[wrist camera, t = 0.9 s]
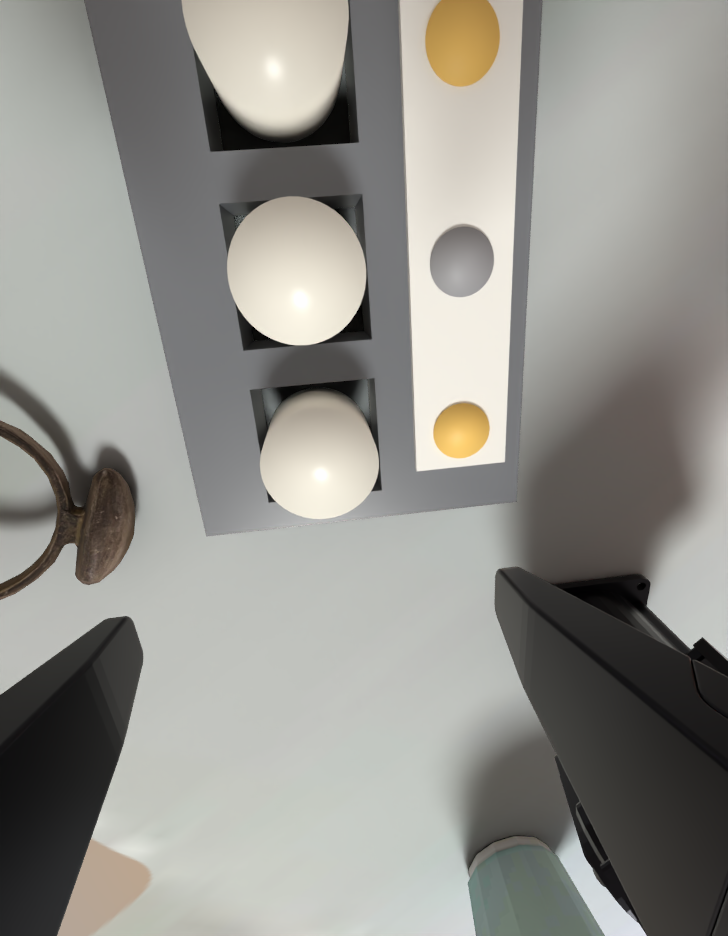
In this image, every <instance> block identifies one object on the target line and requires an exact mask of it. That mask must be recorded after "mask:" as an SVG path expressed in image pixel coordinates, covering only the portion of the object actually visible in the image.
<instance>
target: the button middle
mask: <svg viewBox="0 0 728 936" xmlns="http://www.w3.org/2000/svg"><path fill="white" fill-rule="evenodd" d="M227 274H228V282H229V286H230V290H231V293H232V296H233V299H234V301H235V303H236V305H237V307H238V308H239V310H240V311H241V313H242V314H243V316H244V317H245V318H246V319H247V321H248V322H249V323H250V324H251V325H252V326H253V327H254V328H255V329H257V330H258V331H259V332H261V333H262V334H264V335H265V336H267V337H269V338H271V339H273V340H276V341H278V342H281V343H285V344H289V345H311V344H316V343H319V342H322V341H325V340H327V339H329V338H331V337H333V336H334V335H336V334H337V333H339V332H340V331H341V330H342V329H344V328H345V327H346V326H347V324H348V323H349V322H350V321H351V320H352V318H353V317H354V315H355V314H356V312H357V310H358V308H359V306H360V304H361V301H362V299H363V295H364V291H365V285H366V264H365V258H364V254H363V250H362V248H361V245H360V242H359V240H358V238H357V236H356V235H355V233H354V231H353V230H352V228H351V227H350V225H349V224H348V223H347V222H346V221H345V220H344V218H343V217H342V216H340V215H339V214H338V213H337V212H336V211H335V210H333V209H332V208H330V207H329V206H327V205H325V204H323V203H321V202H319V201H316V200H313V199H310V198H305V197H299V196H287V197H280V198H276V199H273V200H270V201H268V202H266V203H264V204H261V205H260V206H259V207H257V208H256V209H254V210H253V211H252V212H251V213H250V214H248V215H247V216H246V217H245V219H244V220H243V221H242V222H241V224H240V225H239V227H238V228H237V230H236V232H235V234H234V236H233V239H232V241H231V244H230V248H229V252H228V259H227Z"/></svg>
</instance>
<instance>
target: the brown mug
mask: <svg viewBox="0 0 728 936" xmlns="http://www.w3.org/2000/svg"><path fill="white" fill-rule="evenodd" d="M0 436H1V437H3V438H5V439H7V440H8V441H10V442H12V443H14V444H15V445H17V446H19V447H20V448H21V449H22V450H24V451H25V452H26V453H27V454H29V455H30V456H31V457H33V458H34V459H35V461H36V462H37V463H38V465H39V466H40V467H41V469H42V470H43V471H44V473H45V474H46V475H47V477H48V478H49V481H50V483H51V486H52V488H53V491H54V493H55V496H56V502H57V508H58V513H57V520H56V527H55V531H54V533H53V536H52V539H51V541H50V543H49V545H48V546H47V548H46V549H45V551H44V553H43V554H42V555H41V556H40V557H39V559H38V560H37V561H36V562H35V563H34V564H33V565H32V566H30V567H29V568H28V569H26V570H25V571H24V572H22V573H21V574H19V575H17V576H15V577H14V578H12V579H10V580H8V581H6V582H4V583H1V584H0V600H1V599H4V598H6V597H8V596H11V595H13V594H16V593H17V592H19V591H20V590H22V589H23V588H25V587H26V586H28V585H29V584H31V583H32V582H34V581H35V580H36V579H38V578H39V577H40V576H41V575H42V574H43V573H44V572H45V571H46V570H47V569H48V568H49V567H50V566H51V565H52V564H53V563H54V562H55V560H56V559H57V557H58V555H59V553H60V552H61V550H62V548H63V546H64V545H66V544H68V543H75V545H76V546H77V560H76V572H75V575H76V577H77V579H78V580H79V581H81V582H82V583H83V584H87V585H90V584H94V583H98V582H100V581H101V580H102V579H104V578H105V577H106V576H107V575H109V574H110V573H111V572H112V571H113V570H114V569H115V568H116V567H117V566H118V564H119V563H120V562H121V560H122V559H123V557H124V555H125V554H126V552H127V550H128V548H129V546H130V543H131V541H132V539H133V535H134V526H135V505H134V502H133V498H132V495H131V492H130V489H129V485H128V484H127V482H126V481H125V480H124V478H123V477H122V476H121V474H120V473H118V472H117V471H115V470H114V469H111V468H103V469H102V470H100V471H99V472H97V473H96V474H95V475H94V476H93V480H92V483H91V487H90V490H89V494H88V497H87V500H86V503H85V506H84V507H77V506H75V505H74V503H73V501H72V498H71V494H70V488H69V482H68V480H67V478H66V476H65V474H64V472H63V470H62V469H61V467H60V466H59V465H58V463H57V462H56V461H55V459H54V458H53V456H52V455H51V454H50V453H49V452H48V451H47V450H46V449H44V448H43V447H42V446H41V445H40V444H38V443H37V442H36V441H35V440H34V439H33V438H32V437H30V436H29V435H28V434H26V433H25V432H23V431H22V430H20V429H18V428H16V427H14V426H11V425H9V424H7V423H4V422H2V421H0Z"/></svg>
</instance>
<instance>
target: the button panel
mask: <svg viewBox="0 0 728 936" xmlns="http://www.w3.org/2000/svg"><path fill="white" fill-rule="evenodd" d="M84 1H85V6H86V10H87V14H88V19H89V23H90V28H91V32H92V36H93V41H94V45H95V50H96V54H97V58H98V63H99V67H100V71H101V76H102V80H103V85H104V89H105V93H106V98H107V102H108V107H109V111H110V115H111V120H112V124H113V129H114V133H115V137H116V142H117V146H118V151H119V155H120V159H121V164H122V168H123V173H124V177H125V181H126V186H127V190H128V194H129V199H130V203H131V208H132V212H133V216H134V221H135V225H136V230H137V234H138V238H139V243H140V247H141V252H142V256H143V260H144V265H145V269H146V274H147V278H148V282H149V287H150V291H151V295H152V300H153V304H154V309H155V313H156V317H157V322H158V326H159V331H160V335H161V339H162V344H163V348H164V353H165V357H166V361H167V366H168V370H169V375H170V379H171V383H172V388H173V392H174V397H175V401H176V405H177V410H178V414H179V418H180V423H181V427H182V432H183V436H184V440H185V445H186V449H187V454H188V458H189V462H190V467H191V471H192V476H193V480H194V484H195V489H196V493H197V498H198V502H199V506H200V511H201V515H202V520H203V524H204V528H205V533H206V536H215V535H224V534H232V533H241V532H250V531H259V530H268V529H277V528H286V527H295V526H304V525H313V524H322V523H330V522H339V521H348V520H357V519H366V518H375V517H384V516H393V515H402V514H411V513H420V512H429V511H437V510H446V509H455V508H464V507H473V506H482V505H491V504H500V503H509V502H517V483H518V463H519V444H520V424H521V405H522V386H523V366H524V347H525V327H526V308H527V289H528V269H529V250H530V230H531V211H532V191H533V172H534V153H535V133H536V114H537V94H538V75H539V55H540V36H541V17H542V0H523V19H522V45H521V70H520V95H519V120H518V145H517V170H516V195H515V220H514V245H513V270H512V295H511V320H510V346H509V371H508V396H507V421H506V446H505V462H501V463H491V464H482V465H473V466H463V467H454V468H444V469H435V470H426V471H416V469H415V451H414V424H413V396H412V369H411V341H410V314H409V286H408V259H407V231H406V204H405V177H404V149H403V122H402V94H401V67H400V39H399V12H398V0H348V7H349V21H348V32H347V40H346V47H345V55H344V60H345V74H346V88H347V102H348V116H349V130H350V143H347V144H330V145H314V146H298V147H282V148H266V149H250V150H234V151H223V144H222V138H221V132H220V125H219V119H218V113H217V106H216V100H215V93H214V87H213V84H212V82H211V80H210V78H209V76H208V74H207V72H206V71H205V69H204V67H203V65H202V63H201V61H200V59H199V57H198V55H197V53H196V51H195V49H194V47H193V44H192V42H191V40H190V37H189V34H188V31H187V28H186V24H185V20H184V15H183V9H182V0H84ZM287 196H299V197H305V198H310V199H313V200H316V201H319V202H321V203H323V204H325V205H327V206H329V207H330V208H332V209H337V208H351V207H355V214H356V228H357V238H358V240H359V242H360V245H361V248H362V250H363V254H364V258H365V264H366V285H365V291H364V295H363V299H362V311H363V325H364V331H361V332H350V333H338V334H336V335H334V336H333V337H331V338H329V339H327V340H325V341H322V342H319V343H316V344H311V345H289V344H285V343H281V342H278V341H276V340H273V339H270V340H258V341H253V335H252V329H251V324H250V323H249V322H248V321H247V319H246V318H245V317H244V316H243V314H242V313H241V311H240V310H239V308H238V307H237V305H236V303H235V301H234V299H233V296H232V293H231V290H230V286H229V282H228V274H227V259H228V252H229V248H230V244H231V241H232V239H233V236H234V234H235V232H236V227H235V221H234V216H237V215H248V214H250V213H251V212H252V211H253V210H254V209H256V208H257V207H259V206H260V205H261V204H264V203H266V202H268V201H270V200H273V199H276V198H280V197H287ZM359 379H367V381H368V395H369V409H370V423H371V434H372V437H373V440H374V442H375V445H376V448H377V452H378V457H379V470H378V476H377V479H376V482H375V484H374V487H373V489H372V490H371V492H370V494H369V495H368V496H367V497H366V499H365V500H364V501H363V502H362V503H361V504H360V505H358V506H357V507H356V508H354V509H353V510H351V511H349V512H347V513H345V514H343V515H340V516H337V517H333V518H327V519H311V518H305V517H302V516H298V515H296V514H293V513H291V512H289V511H288V510H286V509H284V508H283V507H282V506H280V505H279V504H278V503H277V502H276V501H275V500H274V499H273V498H272V497H271V495H270V494H269V493H268V491H267V489H266V487H265V485H264V483H263V480H262V476H261V472H260V456H261V451H262V448H263V445H264V441H265V438H266V435H267V432H268V431H267V424H266V418H265V411H264V405H263V399H262V392H261V389H263V388H274V387H285V386H295V385H306V384H317V383H327V382H338V381H349V380H359Z"/></svg>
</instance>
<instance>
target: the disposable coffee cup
mask: <svg viewBox="0 0 728 936" xmlns="http://www.w3.org/2000/svg"><path fill="white" fill-rule="evenodd" d="M469 875H470V880H469V882H468V887H469V893H470V899H471V906H472V912H473V919H474V925H475V931H476V936H605V935H604V934H603V932H602V930H601V929H600V927H599V925H598V924H597V922H596V920H595V919H594V917H593V915H592V914H591V912H590V910H589V908H588V907H587V905H586V903H585V902H584V900H583V898H582V897H581V895H580V893H579V892H578V890H577V888H576V887H575V885H574V883H573V882H572V880H571V878H570V877H569V875H568V873H567V872H566V870H565V868H564V866H563V865H562V863H561V861H560V860H559V858H558V856H557V855H555V854H554V853H552V852H551V850H550V848H549V847H548V845H546V844H545V843H543V842H542V841H540V840H539V839H537V838H535V837H524V836H513V837H510V838H507V839H503V840H500V841H497V842H494V843H492V844H491V845H489V846H488V847H487V848H485V849H484V850H482V851H481V852H480V853H478V854H477V855H476V856H475V858H474V860H473V862H472V864H471V866H470V868H469Z"/></svg>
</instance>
